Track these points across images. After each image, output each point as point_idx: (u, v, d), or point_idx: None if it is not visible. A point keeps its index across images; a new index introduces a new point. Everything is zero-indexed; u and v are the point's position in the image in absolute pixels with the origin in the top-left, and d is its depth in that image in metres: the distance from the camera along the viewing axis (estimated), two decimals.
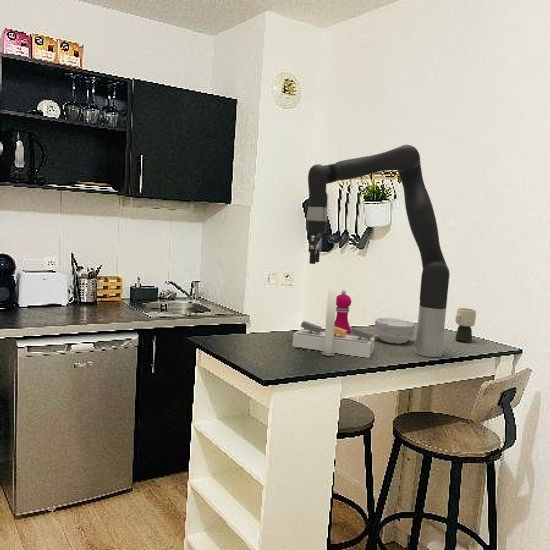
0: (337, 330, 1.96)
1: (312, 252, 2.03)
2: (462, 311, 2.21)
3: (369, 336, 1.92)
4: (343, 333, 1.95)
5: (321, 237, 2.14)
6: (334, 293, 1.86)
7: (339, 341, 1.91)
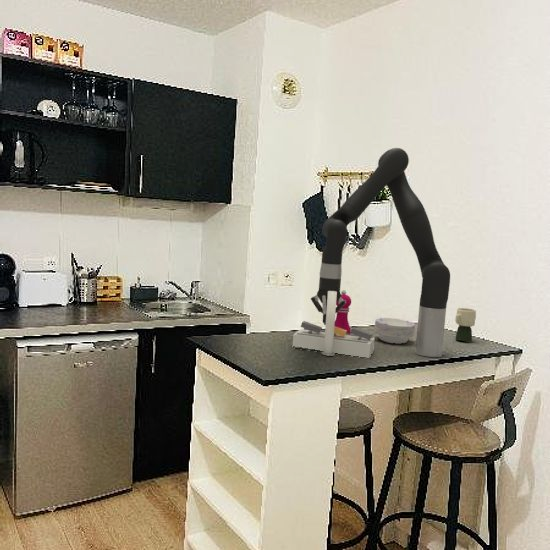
0: (337, 330, 1.96)
1: None
2: (462, 311, 2.21)
3: (369, 336, 1.92)
4: (343, 333, 1.95)
5: None
6: (334, 293, 1.86)
7: (339, 341, 1.91)
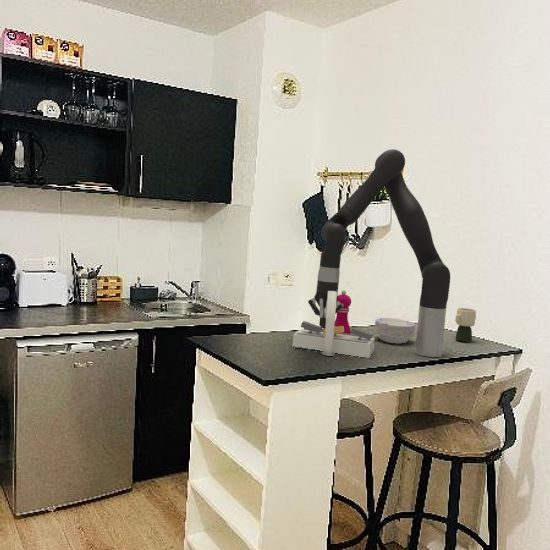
0: (334, 329, 1.96)
1: None
2: (462, 311, 2.21)
3: (369, 336, 1.92)
4: (340, 329, 1.95)
5: None
6: (334, 293, 1.86)
7: (339, 341, 1.91)
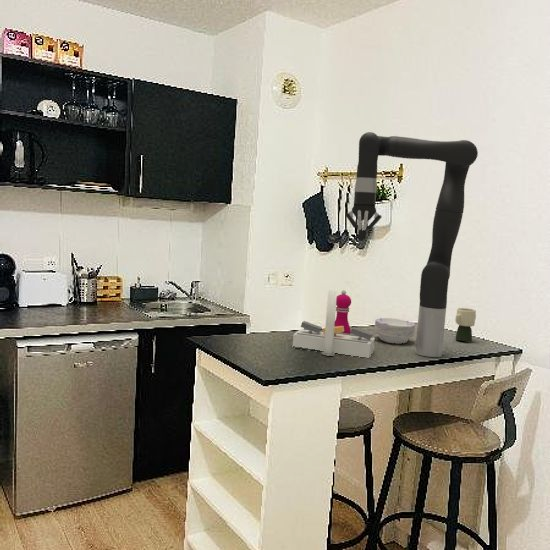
0: (334, 329, 1.96)
1: None
2: (462, 311, 2.21)
3: (369, 336, 1.92)
4: (340, 329, 1.95)
5: None
6: (334, 293, 1.86)
7: (339, 341, 1.91)
